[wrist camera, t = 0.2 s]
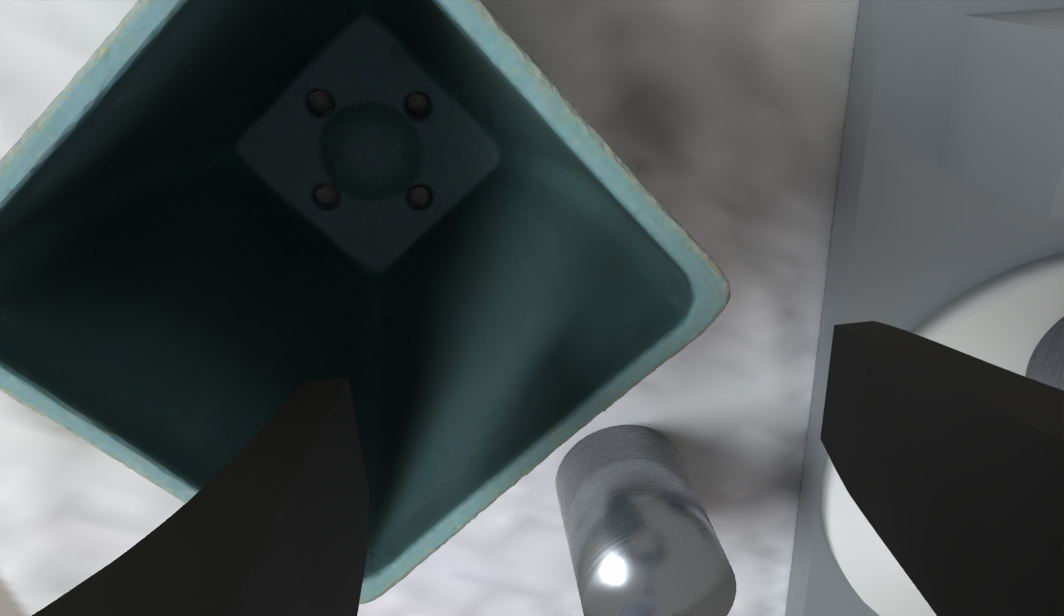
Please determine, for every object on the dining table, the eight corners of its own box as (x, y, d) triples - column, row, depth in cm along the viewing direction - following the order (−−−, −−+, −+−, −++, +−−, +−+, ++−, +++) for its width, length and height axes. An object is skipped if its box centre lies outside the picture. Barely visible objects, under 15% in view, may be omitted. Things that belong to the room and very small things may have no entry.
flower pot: (624, 152, 20) (751, 302, 12) (385, 368, 22) (359, 621, 14) (364, -142, 17) (303, -202, 9) (108, 145, 19) (-135, 311, 11)
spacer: (679, 520, 26) (731, 645, 21) (558, 535, 25) (585, 665, 21) (683, 418, 24) (740, 530, 20) (553, 432, 24) (581, 550, 19)
